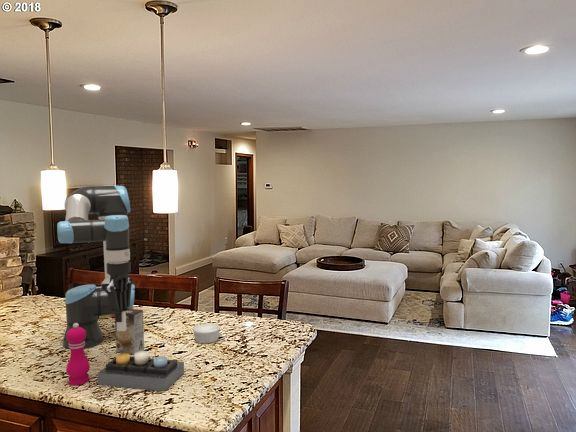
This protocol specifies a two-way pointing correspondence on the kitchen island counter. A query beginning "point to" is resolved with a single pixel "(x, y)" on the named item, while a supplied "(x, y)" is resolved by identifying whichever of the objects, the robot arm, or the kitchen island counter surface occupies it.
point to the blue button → (160, 362)
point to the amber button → (123, 358)
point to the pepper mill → (77, 356)
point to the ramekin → (206, 333)
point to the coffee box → (131, 333)
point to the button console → (141, 375)
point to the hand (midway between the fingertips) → (121, 330)
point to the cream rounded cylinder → (141, 358)
